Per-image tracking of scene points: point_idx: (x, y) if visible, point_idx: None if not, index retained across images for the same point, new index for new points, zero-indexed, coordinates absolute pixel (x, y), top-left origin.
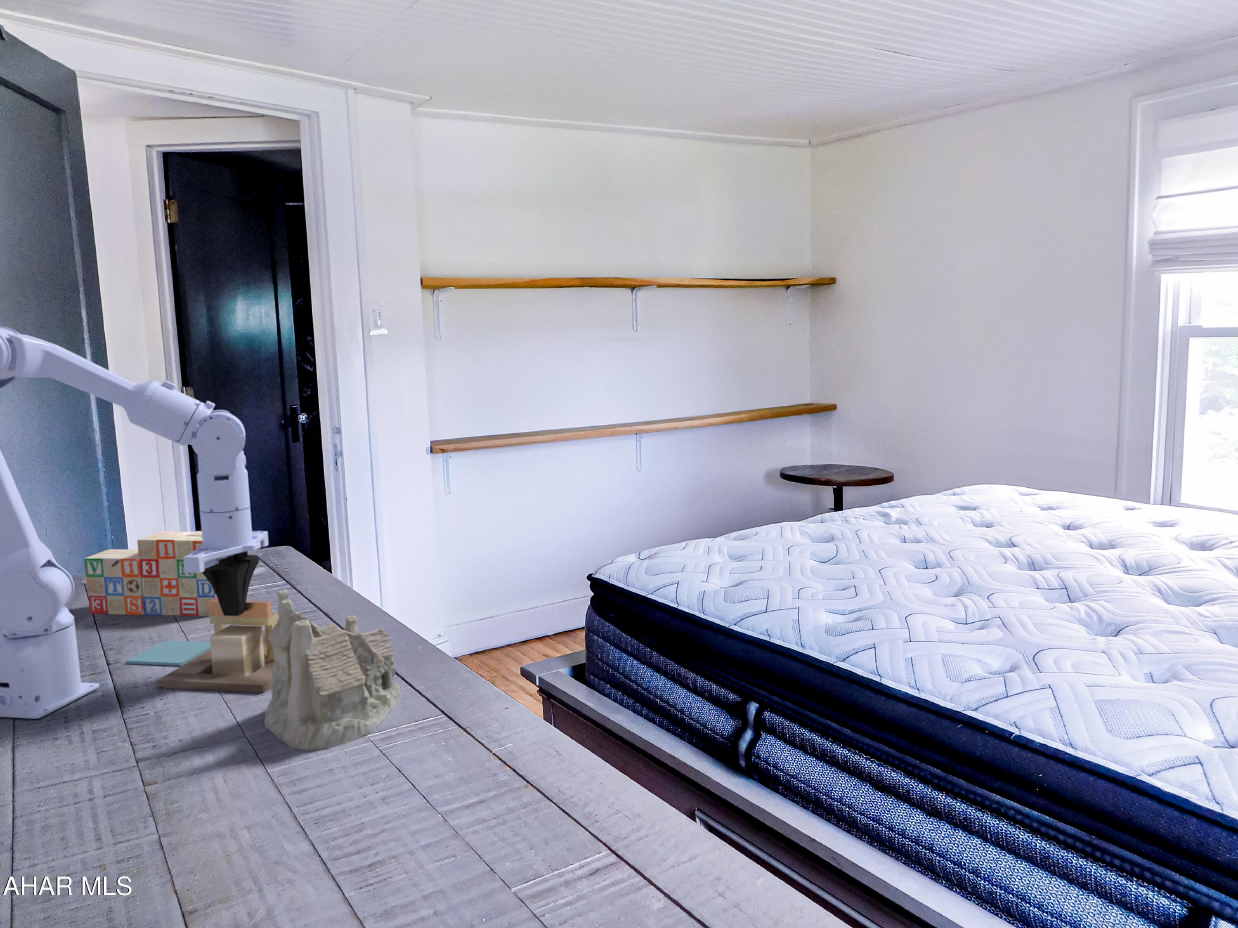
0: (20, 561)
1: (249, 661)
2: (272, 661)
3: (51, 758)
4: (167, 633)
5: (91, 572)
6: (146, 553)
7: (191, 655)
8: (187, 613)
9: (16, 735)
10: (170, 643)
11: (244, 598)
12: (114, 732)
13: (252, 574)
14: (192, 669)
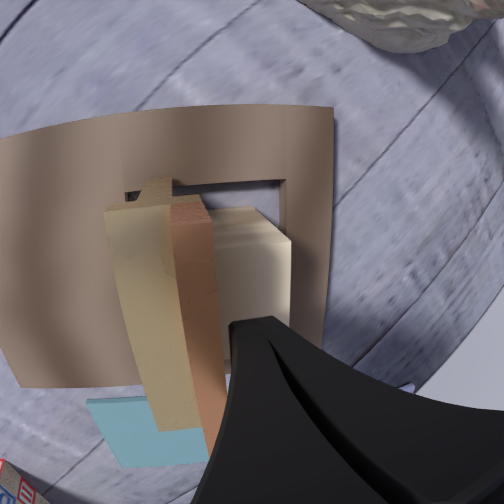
0: None
1: (235, 217)
2: (172, 182)
3: (492, 277)
4: (90, 479)
5: None
6: None
7: None
8: (29, 487)
9: (441, 363)
10: (129, 458)
11: (260, 351)
12: (456, 266)
13: (219, 460)
14: None
